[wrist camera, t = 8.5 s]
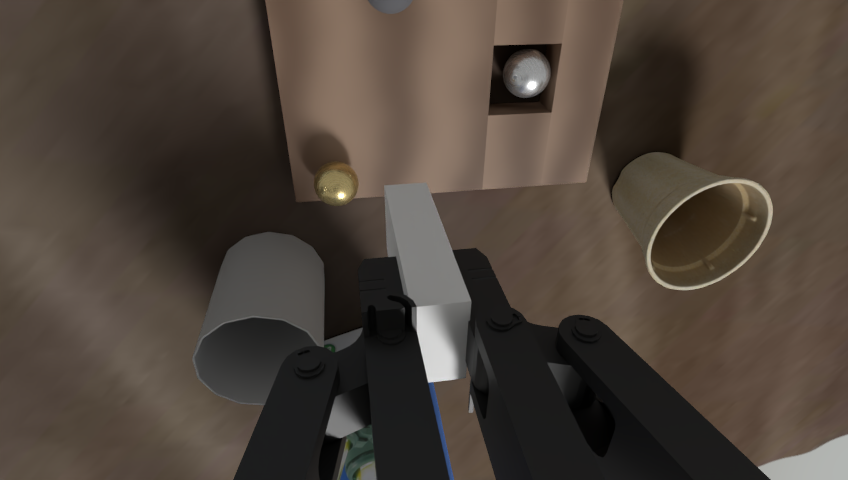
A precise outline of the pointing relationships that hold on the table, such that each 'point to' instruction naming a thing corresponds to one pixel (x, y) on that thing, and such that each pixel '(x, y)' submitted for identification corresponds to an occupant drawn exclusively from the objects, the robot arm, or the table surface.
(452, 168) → the board
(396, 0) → the rubber ball
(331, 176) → the brass ball
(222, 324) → the cup
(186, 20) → the table surface
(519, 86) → the steel ball
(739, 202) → the flower pot
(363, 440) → the string lights box
